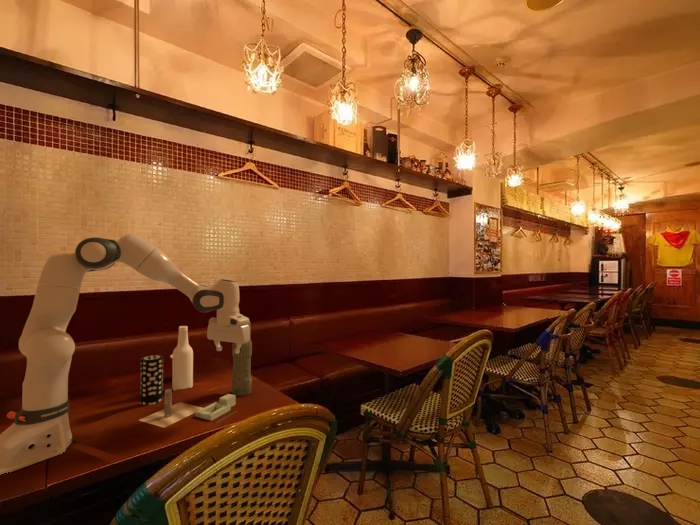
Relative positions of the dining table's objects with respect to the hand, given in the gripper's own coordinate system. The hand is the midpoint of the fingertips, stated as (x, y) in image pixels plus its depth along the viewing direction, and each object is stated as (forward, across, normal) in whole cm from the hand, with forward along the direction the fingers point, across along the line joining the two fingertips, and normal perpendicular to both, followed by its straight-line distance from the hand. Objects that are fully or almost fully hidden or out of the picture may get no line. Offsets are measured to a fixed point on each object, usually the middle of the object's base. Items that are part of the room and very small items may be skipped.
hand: (227, 352), depth 140 cm
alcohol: (+24, -36, +8) cm, 44 cm away
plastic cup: (+24, -50, +20) cm, 59 cm away
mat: (+24, 0, -5) cm, 25 cm away
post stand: (+24, -14, -14) cm, 31 cm away
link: (+24, 0, -5) cm, 24 cm away
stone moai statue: (+24, -7, +17) cm, 30 cm away
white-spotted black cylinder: (+24, -33, -10) cm, 42 cm away
